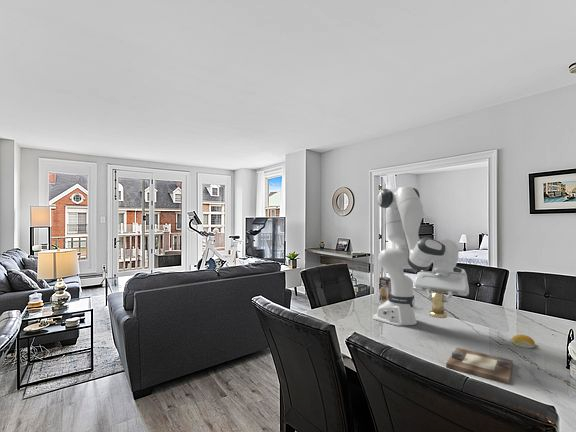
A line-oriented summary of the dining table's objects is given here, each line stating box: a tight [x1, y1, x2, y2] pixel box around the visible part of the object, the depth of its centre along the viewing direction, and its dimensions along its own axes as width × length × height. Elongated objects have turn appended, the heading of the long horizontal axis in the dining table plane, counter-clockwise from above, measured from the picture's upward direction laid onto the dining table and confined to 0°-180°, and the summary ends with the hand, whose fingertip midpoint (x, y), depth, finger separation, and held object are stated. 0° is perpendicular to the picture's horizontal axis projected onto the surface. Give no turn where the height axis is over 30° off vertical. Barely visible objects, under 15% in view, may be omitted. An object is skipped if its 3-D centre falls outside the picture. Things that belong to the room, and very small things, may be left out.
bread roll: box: [510, 334, 536, 349], centre depth 137 cm, size 8×9×4 cm
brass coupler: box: [428, 292, 448, 319], centre depth 126 cm, size 6×6×9 cm
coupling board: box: [445, 347, 514, 385], centre depth 117 cm, size 19×18×3 cm
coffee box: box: [378, 276, 391, 304], centre depth 204 cm, size 9×6×16 cm
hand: (437, 300), depth 125 cm, fingers closed on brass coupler, 4 cm apart
